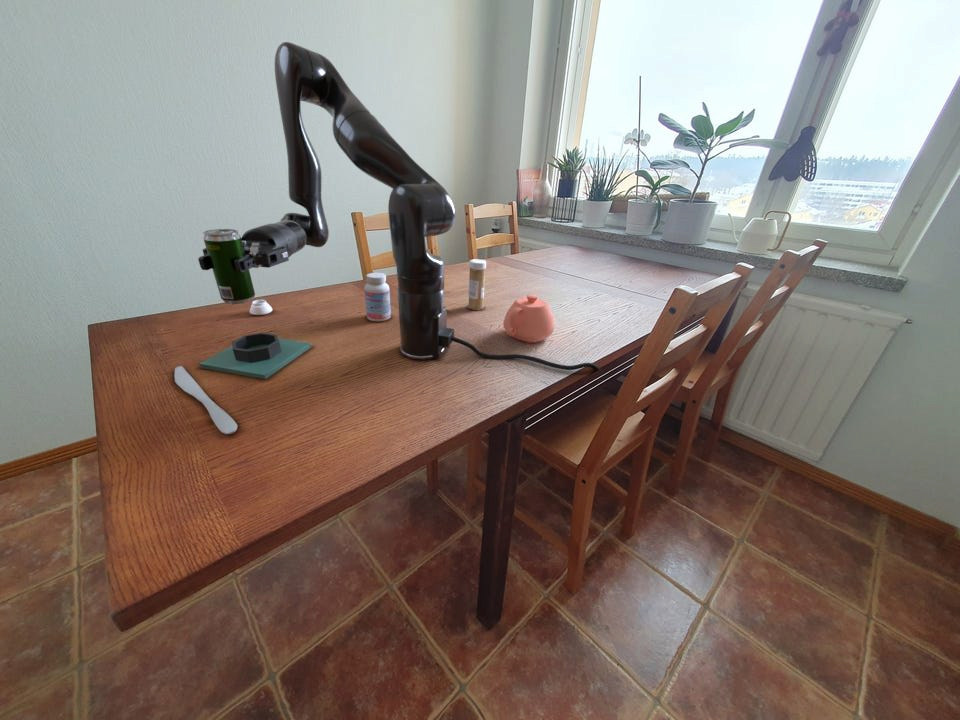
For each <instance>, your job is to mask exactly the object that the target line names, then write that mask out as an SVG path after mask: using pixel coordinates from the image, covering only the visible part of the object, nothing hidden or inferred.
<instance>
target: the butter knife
mask: <svg viewBox="0 0 960 720" xmlns="http://www.w3.org/2000/svg"><path fill="white" fill-rule="evenodd" d="M174 382H175V383H176V385H177V386H178V387H180V389H182V390H183V391H184V392H186V393H187V394H188V395H191V396H193V398H195V399H196V400H198V401H199V402H200V403H202V405H203V406H204V408H206V410H207V412H208V413H209V416H210V418H211V420H212V422H213V423H214V425H215V426H216V427H217V429H218V430H219V431H220V432H221V434H225V435H231V434H234V433H235V432H237V430H238V424H237V422H236V421H235V420H234V419H233V418H232V417H231V416H230V415H229V414H228V413H227V412H226V410H224V409H223V408H221V407H220V406H218V405H217V404H216V402H214V401H213V399H211V398H210V397H209V396H208V395H207V393H205V391H204V390H203V389H202V387H201V386H200V384H198V383H197V381H196V380H195V379H194V378H193V377H192V375H190V373H189V372H188V371H187V370H186V369H185V368H184V367H183V366H182V365H180V366H176V367H175V368H174Z"/></svg>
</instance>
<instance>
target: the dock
mask: <svg viewBox="0 0 960 720" xmlns="http://www.w3.org/2000/svg"><path fill="white" fill-rule="evenodd" d="M311 348H312V343H311V342H305V341H301V340H293V339H287V338H281V337H278V335H277V334H274V333H270V332H257V333H249V334H245V335H242V336H241V337H239V338H237V339H235V340H233V341H232V342H231V346H229V347H227V348H225V349H223V350H222V351H219V352H218V353H215V354H214V355H211V356H210V357H209V358H206V359H205V360H203V361H201V362H199V363H198V364H199V367H200V368H201V369H205V370H209V371H210V370H211V371H215V372H221V373H228V374H233V375H238V376H243V377H249V378H256V379H261V380H267V379H269V378H270V377H271V376H272V375H274V374H276V373H277V372H278V371H280V370H281V369H282V368H284V367H285V366H287V365H288V364H289V363H291V362H292V361H294V360H295V359H297V358H298V357H300V356H301V355H303V354H304V353H305V352H307V351H308V350H310V349H311Z"/></svg>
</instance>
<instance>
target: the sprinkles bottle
mask: <svg viewBox="0 0 960 720" xmlns="http://www.w3.org/2000/svg"><path fill="white" fill-rule="evenodd" d="M468 267H469V278H468V304H467V308H468V309H470V310H473V311H481V310H483V309H484V306H485V305H484V301H485V300H484V298H485V283H486V282H485V279H486V278H485V277H486V269H487V261H486V260H485V259H479V258H475V259H470V260H469V262H468Z"/></svg>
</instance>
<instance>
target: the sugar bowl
mask: <svg viewBox="0 0 960 720" xmlns="http://www.w3.org/2000/svg"><path fill="white" fill-rule="evenodd" d="M502 325H503V329H504V331H506V334H507V335H508V336H509V337H512V338H514V339H516V340H518V341H522V342H525V343H527V344H533V343H534V342H541V341H544V340H546V339H547V338H549V337H550V336H551V335H552V334H553V333H554V330H555V319H554V315H553V313H552V310H551V307H550V306H549V303H547V302H546V301H545V300H544V299H541V298H538V296H537V295H536V294H527V295H526V296H523V297H519V298H517V299H516V300H515V301H514V302H513V303H512V304H511V306H510V307H509V308H508V310H507V311H506V313H505V316H504V319H503V324H502Z"/></svg>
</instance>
